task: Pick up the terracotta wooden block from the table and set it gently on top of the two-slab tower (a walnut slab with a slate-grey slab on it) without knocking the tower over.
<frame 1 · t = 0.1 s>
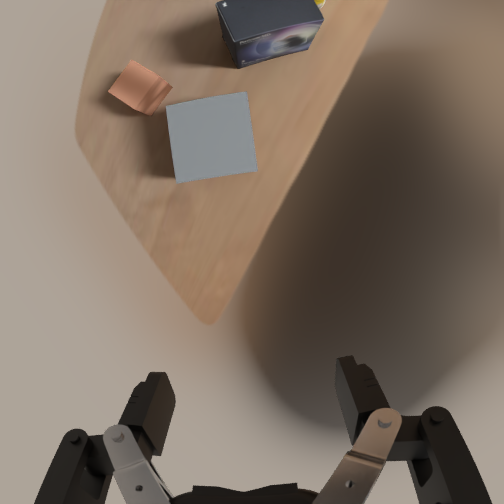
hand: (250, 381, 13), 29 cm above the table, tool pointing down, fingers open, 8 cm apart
tower top: (215, 139, 33), point 4 cm above the table, touching tower base
terracotta block: (148, 93, 35), on the table
small box: (265, 42, 33), on the table
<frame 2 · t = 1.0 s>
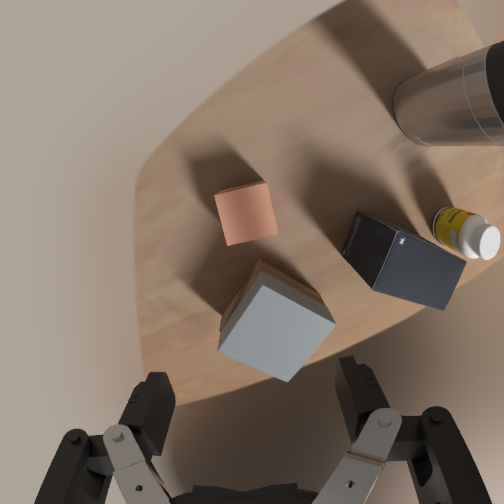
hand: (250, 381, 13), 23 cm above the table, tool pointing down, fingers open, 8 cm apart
supplement bottle: (444, 224, 34), on the table
tower top: (273, 320, 33), point 4 cm above the table, touching tower base
tower base: (270, 304, 37), on the table, touching tower top
terracotta block: (247, 206, 33), on the table
small box: (382, 245, 35), on the table
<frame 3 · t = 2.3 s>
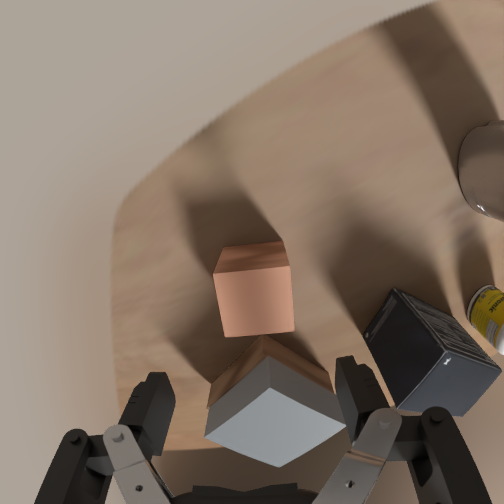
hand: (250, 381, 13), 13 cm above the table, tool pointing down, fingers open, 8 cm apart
supplement bottle: (480, 303, 26), on the table
tower top: (273, 404, 26), point 4 cm above the table, touching tower base
tower base: (269, 378, 29), on the table, touching tower top
terracotta block: (256, 271, 25), on the table
small box: (410, 326, 27), on the table
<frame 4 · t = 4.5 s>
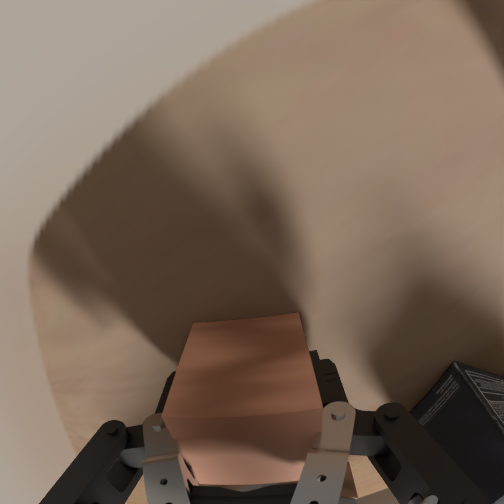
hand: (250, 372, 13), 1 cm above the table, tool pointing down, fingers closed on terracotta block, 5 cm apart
tower base: (270, 471, 18), on the table
terracotta block: (251, 359, 14), on the table, touching gripper
small box: (459, 399, 16), on the table
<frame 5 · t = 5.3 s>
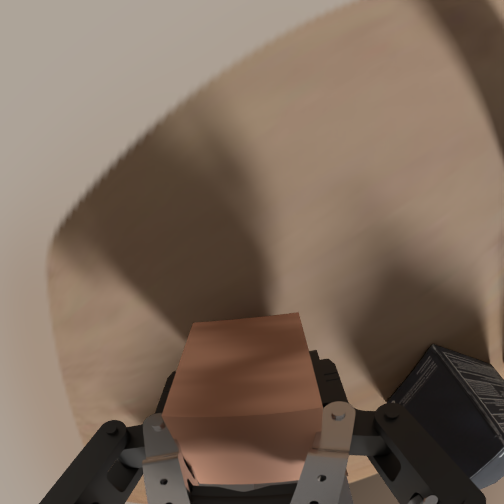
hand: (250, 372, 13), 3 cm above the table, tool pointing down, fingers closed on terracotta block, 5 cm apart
tower top: (264, 488, 17), point 4 cm above the table, touching tower base
terracotta block: (251, 359, 14), point 2 cm above the table, touching gripper
small box: (442, 382, 19), on the table
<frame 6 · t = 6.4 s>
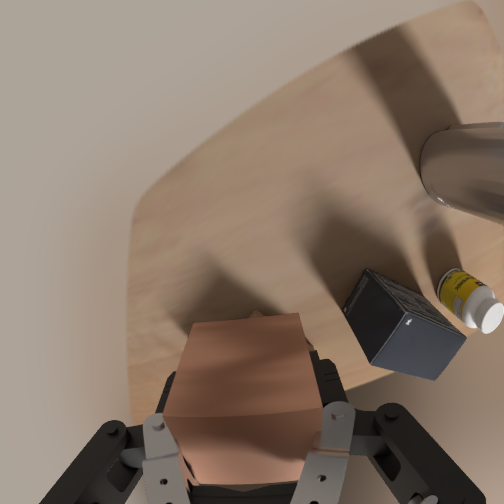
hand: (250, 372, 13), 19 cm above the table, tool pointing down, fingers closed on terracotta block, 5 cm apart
supplement bottle: (449, 285, 33), on the table
terracotta block: (251, 359, 14), point 18 cm above the table, touching gripper
small box: (384, 303, 33), on the table
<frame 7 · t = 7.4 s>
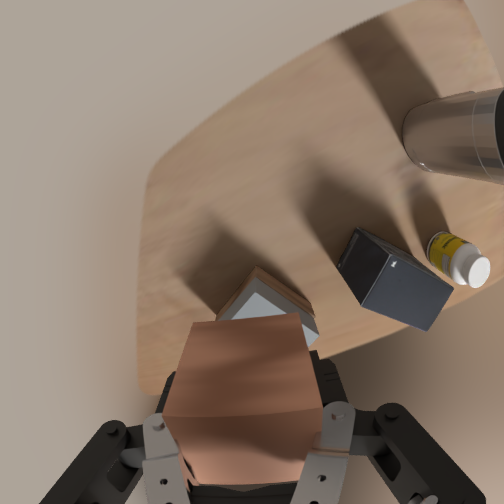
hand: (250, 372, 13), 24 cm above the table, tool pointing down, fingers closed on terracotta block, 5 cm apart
supplement bottle: (439, 248, 36), on the table
tower top: (261, 324, 35), point 4 cm above the table, touching tower base
tower base: (263, 308, 39), on the table, touching tower top
terracotta block: (251, 359, 14), point 23 cm above the table, touching gripper
small box: (376, 262, 37), on the table
when the fingers open (10 cm above the table, at t = 12.0 s): terracotta block drops 1 cm, point 8 cm above the table.
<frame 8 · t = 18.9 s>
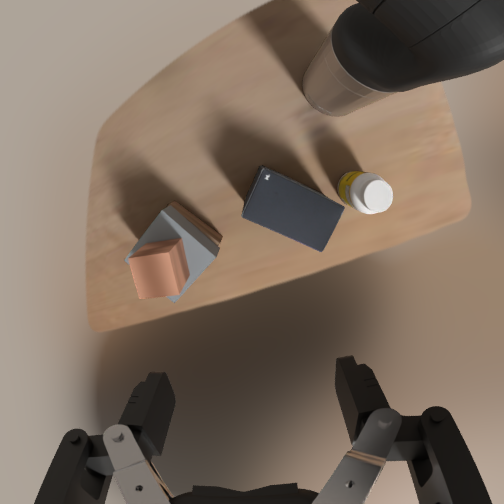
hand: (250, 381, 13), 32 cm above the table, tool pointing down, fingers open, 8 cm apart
supplement bottle: (353, 188, 41), on the table
tower top: (175, 249, 41), point 4 cm above the table, touching tower base
tower base: (182, 241, 44), on the table, touching tower top
terracotta block: (167, 259, 37), point 8 cm above the table
small box: (284, 199, 42), on the table
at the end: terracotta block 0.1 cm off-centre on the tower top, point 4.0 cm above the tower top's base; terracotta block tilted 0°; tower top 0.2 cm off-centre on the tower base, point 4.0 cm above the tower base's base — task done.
